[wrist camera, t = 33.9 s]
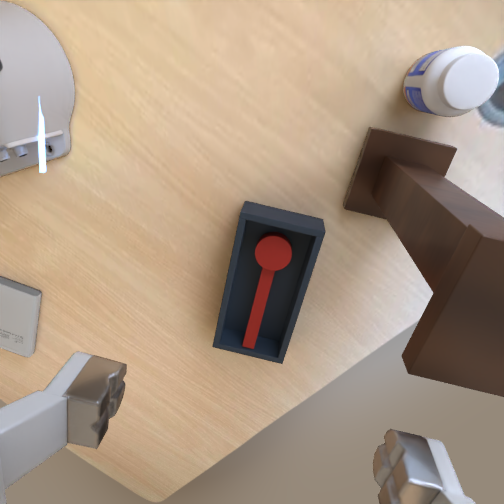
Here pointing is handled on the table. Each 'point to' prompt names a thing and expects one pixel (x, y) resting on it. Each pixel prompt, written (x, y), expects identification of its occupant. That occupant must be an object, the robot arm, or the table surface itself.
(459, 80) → the pill bottle
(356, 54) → the table surface
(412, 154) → the stand
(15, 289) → the hard drive
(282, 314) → the bin
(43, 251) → the table surface
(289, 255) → the red lever with knob
